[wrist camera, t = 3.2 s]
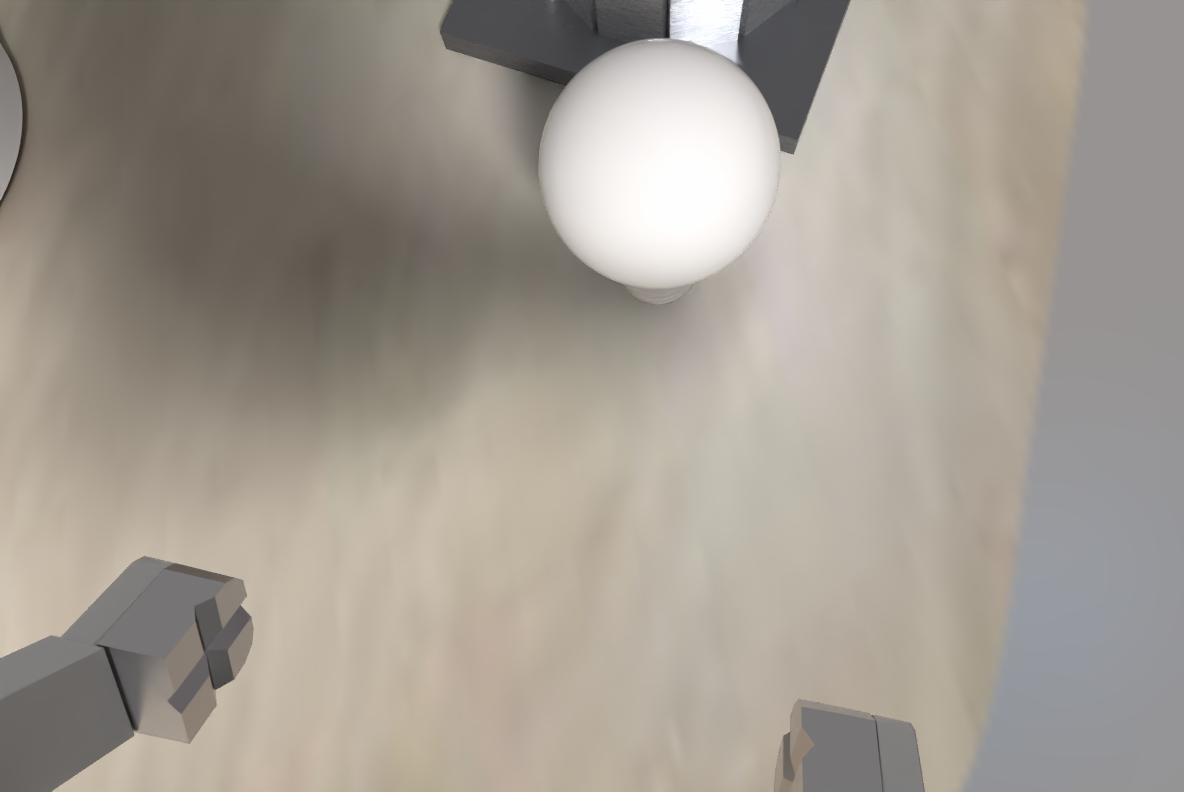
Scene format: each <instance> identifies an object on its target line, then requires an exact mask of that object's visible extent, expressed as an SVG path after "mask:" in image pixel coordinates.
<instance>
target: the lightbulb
mask: <svg viewBox="0 0 1184 792" xmlns="http://www.w3.org/2000/svg"><path fill="white" fill-rule="evenodd" d="M780 170H781V152H780V142H779V136H778V132H777V128H776V124H775V121H774V118H773V115H772V113H771V110H770V108H769V106H768V104H767V102H766V100H765V98H764V96H763V95H762V93H761V91H760V90H759V89H758V87H757V86H756V84H755V83H754V82H753V81H752V79H751V78H750V77H749V76H748V75H747V74H746V73H745V72H744V71H743V70H742V69H741V68H740V67H739V66H738V65H736V64H735V63H734V62H733V61H731V60H730V59H728V58H727V57H725V56H724V55H722V54H720V53H719V52H717V51H715V50H713V49H711V48H709V47H706V46H704V45H701V44H698V43H695V42H691V41H687V40H682V39H675V38H650V39H643V40H637V41H633V42H629V43H626V44H623V45H620V46H618V47H615V48H613V49H611V50H609V51H607V52H605V53H603V54H601V55H600V56H598V57H597V58H595V59H594V60H592V61H591V62H589V63H588V64H587V65H586V66H584V67H583V68H582V69H581V70H580V71H579V72H578V73H577V74H576V75H575V76H574V77H573V78H572V79H571V80H570V81H569V82H568V84H567V85H566V86H565V87H564V89H563V90H562V92H561V93H560V95H559V96H558V98H557V99H556V101H555V103H554V105H553V107H552V109H551V111H550V113H549V115H548V118H547V121H546V123H545V126H544V130H543V134H542V138H541V143H540V149H539V160H538V172H539V183H540V190H541V195H542V199H543V202H544V205H545V208H546V211H547V214H548V216H549V219H550V221H551V223H552V225H553V227H554V228H555V230H556V232H557V233H558V235H559V237H560V238H561V239H562V241H563V242H564V243H565V245H566V246H567V247H568V248H569V249H570V251H571V252H572V253H573V254H574V255H575V256H576V257H577V258H578V259H580V260H581V261H582V262H583V263H584V264H585V265H587V266H588V267H590V268H591V269H593V270H594V271H596V272H597V273H599V274H601V275H603V276H604V277H607V278H609V279H611V280H613V281H616V282H619V283H622V284H624V286H625V287H626V289H627V290H628V291H629V292H630V293H631V294H632V295H633V296H634V297H636V298H637V299H639V300H641V301H643V302H646V303H650V304H666V303H670V302H673V301H675V300H677V299H679V298H681V297H682V296H683V295H684V294H686V293H687V292H688V290H689V289H690V288H691V286H692V285H693V283H696V282H698V281H701V280H703V279H706V278H708V277H710V276H712V275H714V274H716V273H717V272H719V271H721V270H722V269H724V268H725V267H727V266H728V265H729V264H731V263H732V262H733V261H735V260H736V259H737V258H738V257H739V256H740V255H741V254H742V253H743V252H744V251H745V250H746V249H747V248H748V247H749V246H750V245H751V243H752V242H753V241H754V240H755V238H756V237H757V235H758V234H759V232H760V231H761V229H762V228H763V226H764V224H765V222H766V220H767V218H768V216H769V214H770V212H771V209H772V207H773V204H774V201H775V198H776V194H777V190H778V186H779V179H780Z"/></svg>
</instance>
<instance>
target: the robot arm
mask: <svg viewBox="0 0 1184 792" xmlns="http://www.w3.org/2000/svg"><path fill="white" fill-rule="evenodd" d="M21 134H22V100H21V93H20V88H19V84H18V80H17V77H16V74H15V71H14V68H13V66H12V63H11V61H10V59H9V57H8V55H7V54H6V52H5V50H4V48H3V47H2V45H1V43H0V200H1V198H2V196H3V194H4V192H5V190H6V188H7V186H8V183H9V181H10V178H11V175H12V173H13V170H14V167H15V163H16V160H17V156H18V151H19V147H20V141H21ZM246 597H247V594H246V590H245V586H244V582H243V580H241V579H237V578H234V577H230V576H226V575H222V574H217V573H213V572H209V571H205V570H201V569H197V568H193V567H189V566H185V565H181V564H177V563H172V562H168V561H164V560H159V559H155V558H151V557H146V556H144V557H142V558H140V559H138V560H136V561H134V562H132V563H131V564H130V565H129V566H128V567H127V568H126V569H125V570H124V571H123V573H122V574H121V575H120V576H119V577H118V578H117V579H116V580H115V581H114V582H113V583H112V584H111V585H110V586H109V587H108V588H107V589H106V590H105V591H104V592H103V593H102V594H101V595H100V597H99V598H98V599H97V600H96V601H95V602H94V603H93V604H92V605H91V606H90V607H89V608H88V609H87V610H86V611H85V612H84V613H83V614H82V615H81V616H80V617H79V618H78V620H77V621H76V622H75V623H74V624H73V625H72V626H71V627H70V628H69V629H68V630H67V631H66V632H65V633H64V634H63V635H62V636H61V637H57V636H52V635H51V636H49V637H47V638H44V639H42V640H40V641H38V642H36V643H33V644H31V645H29V646H27V647H24V648H22V649H20V650H18V651H16V652H13V653H11V654H9V655H7V656H5V657H2V658H0V792H51V791H53V790H54V789H56V788H57V787H59V786H60V785H62V784H63V783H64V782H66V781H67V780H69V779H70V778H72V777H73V776H75V775H76V774H78V773H79V772H81V771H82V770H84V769H85V768H87V767H88V766H90V765H91V764H93V763H94V762H96V761H97V760H99V759H100V758H102V757H103V756H105V755H106V754H108V753H109V752H111V751H112V750H114V749H115V748H117V747H118V746H120V745H121V744H123V743H124V742H126V741H127V740H128V739H130V738H131V737H133V736H134V732H137V733H141V734H146V735H151V736H156V737H160V738H165V739H170V740H174V741H179V742H184V743H188V744H190V743H191V741H192V740H193V738H194V737H195V735H196V734H197V733H198V731H199V730H200V728H201V727H202V725H203V724H204V722H205V721H206V720H207V718H208V717H209V715H210V714H211V712H212V711H213V709H214V708H215V707H216V705H217V702H216V689H218V688H220V687H222V686H223V685H225V684H227V683H229V682H231V681H232V680H234V679H235V677H236V676H237V674H238V673H239V671H240V670H241V668H242V667H243V665H244V664H245V661H246V659H247V656H248V653H249V651H250V648H251V645H252V640H253V624H252V618H251V616H250V615H249V614H248V613H247V612H246V611H245V610H244V608H243V607H242V606H241V603H242V602H243V601H244V599H245V598H246ZM774 792H925V790H924V783H923V777H922V770H921V764H920V758H919V751H918V745H917V738H916V732H915V729H914V728H913V726H912V724H911V723H909V722H904V721H900V720H895V719H890V718H886V717H881V716H876V715H871V714H870V713H866V712H861V711H856V710H851V709H846V708H842V707H837V706H832V705H827V704H822V703H817V702H812V701H807V700H802V699H798V700H797V701H796V702H795V704H794V707H793V709H792V712H791V715H790V732H789V733H788V734H786V735H784V736H783V739H782V742H781V746H780V749H779V753H778V758H777V764H776V769H775V781H774Z"/></svg>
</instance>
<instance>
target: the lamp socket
mask: <svg viewBox="0 0 1184 792" xmlns="http://www.w3.org/2000/svg"><path fill="white" fill-rule="evenodd" d="M849 3H850V0H455V1H454V3H453V5H452V7H451V10H450V12H449V14H448V16H447V18H446V20H445V22H444V24H443V26H442V29H441V31H440V34H441V36H442V39H443V41H444V44H445V46H446V49H450V50H453V51H456V52H459V53H463V54H466V55H469V56H472V57H476V58H479V59H482V60H486V61H489V62H492V63H495V64H499V65H502V66H505V67H509V68H512V69H515V70H518V71H522V72H525V73H528V74H531V75H535V76H538V77H541V78H545V79H548V80H551V81H554V82H558V83H561V84H564V85H567V84H568V82H569V81H570V80H571V79H572V78H573V77H574V76H575V75H576V74H577V73H578V72H579V71H580V70H581V69H582V68H583V67H584V66H586V65H587V64H588V63H589V62H591V61H592V60H594V59H595V58H597V57H598V56H600V55H601V54H603V53H605V52H607V51H609V50H611V49H613V48H615V47H618V46H620V45H623V44H626V43H629V42H633V41H637V40H643V39H650V38H675V39H682V40H687V41H691V42H695V43H698V44H701V45H704V46H706V47H709V48H711V49H713V50H715V51H717V52H719V53H720V54H722V55H724V56H725V57H727V58H728V59H730V60H731V61H733V62H734V63H735V64H736V65H738V66H739V67H740V68H741V69H742V70H743V71H744V72H745V73H746V74H747V75H748V76H749V77H750V78H751V79H752V81H753V82H754V83H755V84H756V86H757V87H758V89H759V90H760V91H761V93H762V95H763V96H764V98H765V100H766V102H767V104H768V106H769V108H770V110H771V113H772V115H773V118H774V121H775V124H776V128H777V132H778V136H779V142H780V150H781V151H784V152H787V153H790V154H794V152H795V149H796V146H797V144H798V141H799V138H800V135H801V133H802V130H803V127H804V125H805V122H806V119H807V117H808V114H809V111H810V108H811V106H812V103H813V100H814V98H815V95H816V92H817V90H818V87H819V84H820V81H821V79H822V76H823V73H824V71H825V68H826V65H827V63H828V60H829V57H830V54H831V52H832V49H833V46H834V44H835V41H836V38H837V36H838V33H839V30H840V27H841V25H842V22H843V19H844V17H845V14H846V11H847V9H848V6H849Z"/></svg>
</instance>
